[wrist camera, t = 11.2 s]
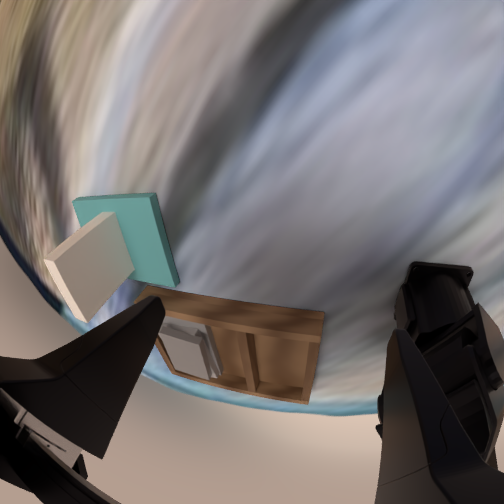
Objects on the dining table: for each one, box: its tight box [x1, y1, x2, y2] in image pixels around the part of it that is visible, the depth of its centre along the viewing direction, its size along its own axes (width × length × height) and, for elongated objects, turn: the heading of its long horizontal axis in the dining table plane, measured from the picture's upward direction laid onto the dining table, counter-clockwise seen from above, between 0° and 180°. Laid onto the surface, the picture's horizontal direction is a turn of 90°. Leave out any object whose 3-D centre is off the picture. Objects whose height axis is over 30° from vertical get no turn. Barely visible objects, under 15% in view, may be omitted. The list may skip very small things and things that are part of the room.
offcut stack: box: [159, 316, 224, 380], centre depth 31 cm, size 6×11×3 cm, turn 5°
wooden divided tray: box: [134, 285, 324, 405], centre depth 30 cm, size 20×15×3 cm
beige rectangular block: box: [44, 212, 135, 323], centre depth 23 cm, size 2×7×8 cm, turn 5°
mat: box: [72, 193, 180, 287], centre depth 26 cm, size 12×10×1 cm
